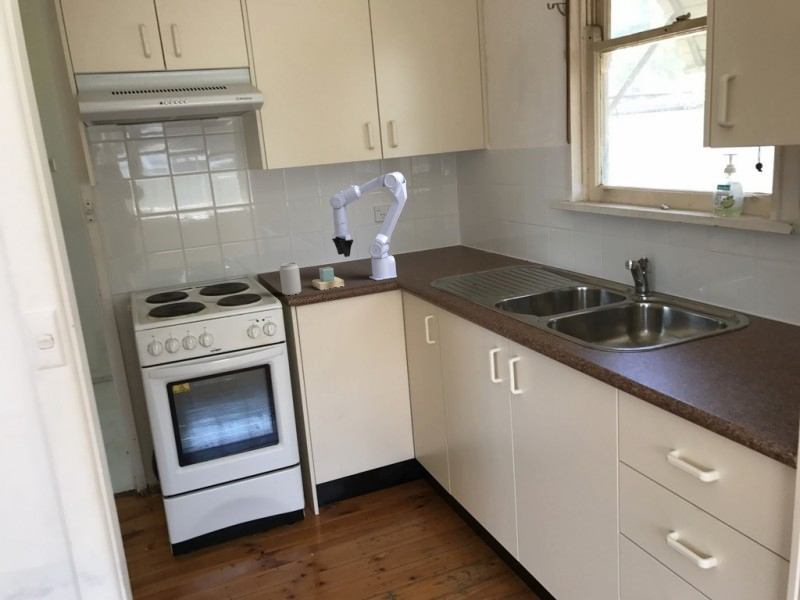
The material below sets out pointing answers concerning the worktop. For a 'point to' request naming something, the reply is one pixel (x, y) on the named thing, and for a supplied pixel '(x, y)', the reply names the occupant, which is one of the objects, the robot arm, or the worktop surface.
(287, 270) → the can
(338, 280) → the beige square slab
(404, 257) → the worktop surface
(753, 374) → the worktop surface
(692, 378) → the worktop surface
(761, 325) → the worktop surface
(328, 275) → the tin
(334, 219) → the robot arm
